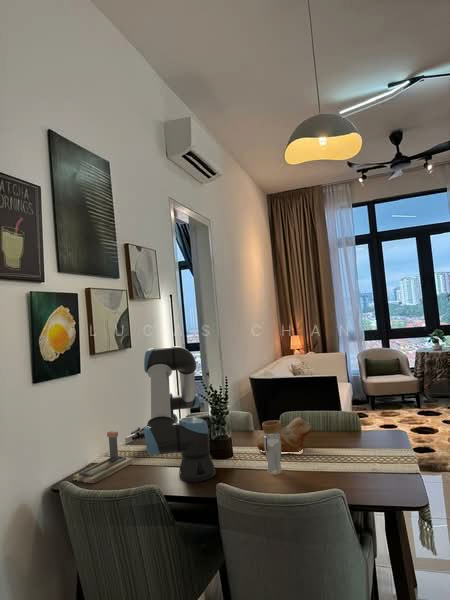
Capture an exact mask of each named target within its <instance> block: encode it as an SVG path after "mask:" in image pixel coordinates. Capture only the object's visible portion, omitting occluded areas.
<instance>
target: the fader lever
mask: <svg viewBox="0 0 450 600" xmlns="http://www.w3.org/2000/svg"><path fill="white" fill-rule="evenodd" d="M106 434H107V435H106V436H107V438H108V442H109V444H108V445H109V461H111V462H116V461H118V460H120V458H118V456H119V454H118V453H119V452H118V450H119V449H118V437H119V432H118V431H114V430H113V431H108V432H106Z"/></svg>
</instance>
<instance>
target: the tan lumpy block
mask: <svg viewBox="0 0 450 600" xmlns="http://www.w3.org/2000/svg"><path fill="white" fill-rule="evenodd" d="M261 424H262V425H261V426H262V430H263V432H262V433H260V435H259V436H258V438H257V441H256V447H257V449H258V451H260V450H262V451H265V448H264V436H265V435H266V434H272V433H274V434H279V435H280V440H281V452H299V451H301V450H302V449H304V440H305V437H306V436H308V435H309V434H310V433H311V431H312V424H311V423H310V422H308V421H305V420H304V419H303V418H302V417H300V416H298V417H295V418H293V420H292V421H290V423H289V424H287V425H286V426H282V421H281V420H276V419H275V420H267V421H263V422H262V423H261Z"/></svg>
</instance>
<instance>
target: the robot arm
mask: <svg viewBox="0 0 450 600" xmlns="http://www.w3.org/2000/svg"><path fill="white" fill-rule="evenodd" d="M196 361H197V360H196V358H195V356H194V355H193V354H192V353H191V352H190V351H189V350H188V349H186V348H185V347H183V346H179V345H177V346H176V345H175V346H165V347H154V348H153V347H152V348H149V349H147V350H146V351H145V353H144V362H143V363H144V364H143V369H144V373H146V374H147V376H148V377H149V378H150V419H149V420H147V424H146V425H145V426H144V427H137V428H136V429H134V430H133V431H132V432H130V435H127V436H125V437H124V440H125V444H129V443H131V442H132V443H133V442H134V441H136V440H140V439H141V440H143V439H144V440H145V446H146V451H147V453H148V455H149V456H157V455H158V456H160V455H167V454H177V453H181V461H180V465H179V471H178V472H179V473H178V474H179V479H180V480H181V481H184V482H186V483H187V482H188V483H200V482H203V481H204V480H205V481H208V480H210V479H212V478H213V477H215V476H216V467H215V465H214V461H213V460H212V457H211V453H210V440H209V433H210V432H209V428H208V427H209V426H208V422H207V421H206V420H204V419H203V418H199V417H183V418H182V417H181V418H180V420H179V419H178V416H177V414H176V413H174V411H175V410H176V411H177V410H187V409H195V408H199V406H200V400H199V399H200V397H199V394H198V393H196V379H195V373H196V370H197V362H196ZM173 371H178V372H179V381H180V392H181V393H180V394H179V395H173V393H172V392H171V390H170V377H171V375H172V373H173ZM178 420H179V422H178ZM199 481H200V482H199Z"/></svg>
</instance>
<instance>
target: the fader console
mask: <svg viewBox="0 0 450 600" xmlns="http://www.w3.org/2000/svg"><path fill="white" fill-rule="evenodd" d="M109 458H110V457H109ZM109 458H106V459H104V460H102V461H100V462H99V463H96V464H94V465H92V466H90V467H88V468H86V469H84V470H82V471H78V472H77V473H75V474H73V475H72V479H73V481H75V480H77V481H76V482H81V481H82V483H87V482H88V484H93V483H94V484H96V483H98V482H100V481H101V480H103V479H106V478H107V477H109V476H111V475H113V474H114V473H116V472H118V471H120V470H122V469H124V468H125V467H128V466H129V465H132V464H133V461H132V458H127V456H124V455H122V456H121V455H118V458H120V460H118V461H116V462H111V461H109Z"/></svg>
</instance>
